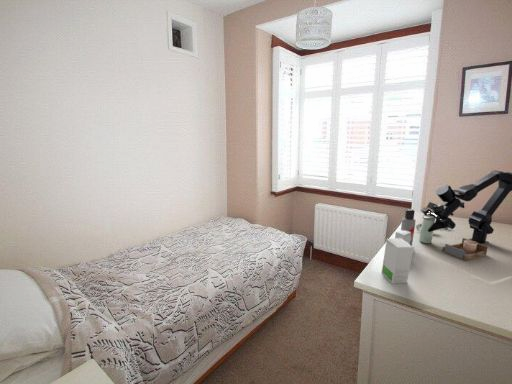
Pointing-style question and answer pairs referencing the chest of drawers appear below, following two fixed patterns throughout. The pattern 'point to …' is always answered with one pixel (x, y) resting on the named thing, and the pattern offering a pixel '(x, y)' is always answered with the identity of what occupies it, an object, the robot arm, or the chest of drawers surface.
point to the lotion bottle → (409, 223)
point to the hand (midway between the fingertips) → (424, 229)
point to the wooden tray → (480, 252)
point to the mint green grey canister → (426, 229)
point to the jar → (469, 246)
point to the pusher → (454, 251)
